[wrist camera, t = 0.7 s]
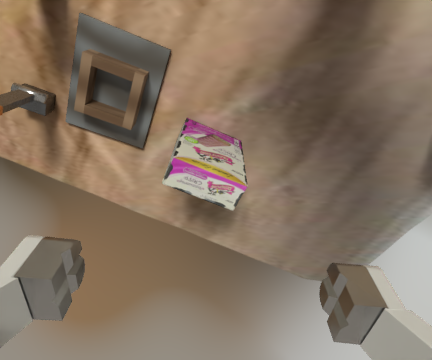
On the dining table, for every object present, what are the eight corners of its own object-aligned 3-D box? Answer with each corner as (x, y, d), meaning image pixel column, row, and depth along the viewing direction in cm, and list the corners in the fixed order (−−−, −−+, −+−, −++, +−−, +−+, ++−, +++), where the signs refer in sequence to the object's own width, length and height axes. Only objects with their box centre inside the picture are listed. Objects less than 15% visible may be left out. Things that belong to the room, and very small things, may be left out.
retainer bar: (17, 88, 46) (-30, 102, 37) (35, 94, 46) (-8, 110, 37) (17, 95, 46) (-30, 111, 37) (34, 101, 47) (-8, 118, 38)
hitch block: (81, 12, 44) (69, 13, 40) (171, 49, 46) (167, 53, 43) (67, 120, 53) (56, 128, 49) (143, 146, 55) (138, 156, 52)
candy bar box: (242, 139, 54) (250, 186, 40) (230, 161, 56) (234, 213, 42) (186, 114, 52) (172, 156, 38) (176, 138, 54) (160, 186, 40)
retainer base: (25, 78, 49) (11, 84, 46) (55, 89, 50) (44, 95, 47) (24, 99, 51) (10, 106, 48) (53, 110, 52) (42, 117, 48)
